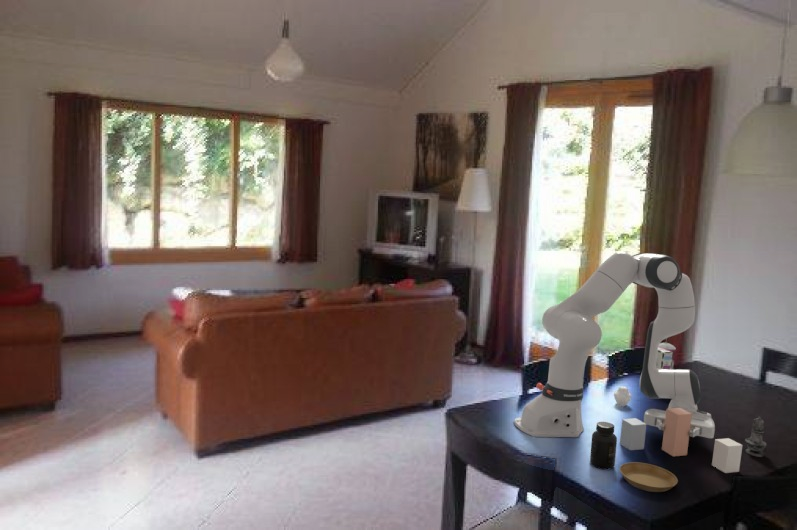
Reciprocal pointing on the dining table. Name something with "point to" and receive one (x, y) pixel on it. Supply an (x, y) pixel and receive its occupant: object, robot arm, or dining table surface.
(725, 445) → the off-white block
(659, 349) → the candy bar box
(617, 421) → the dining table surface
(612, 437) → the supplement bottle
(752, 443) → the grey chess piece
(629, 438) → the grey-blue block
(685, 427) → the coral block
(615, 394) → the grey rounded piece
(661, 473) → the plant saucer
